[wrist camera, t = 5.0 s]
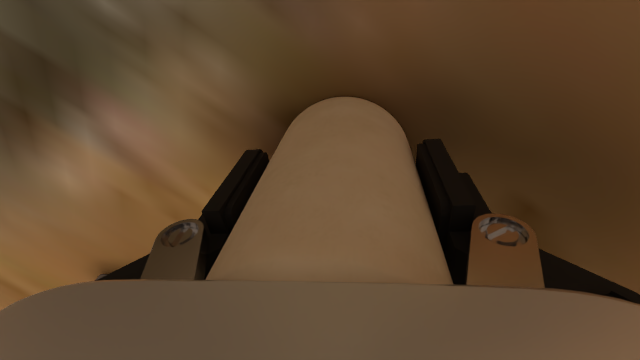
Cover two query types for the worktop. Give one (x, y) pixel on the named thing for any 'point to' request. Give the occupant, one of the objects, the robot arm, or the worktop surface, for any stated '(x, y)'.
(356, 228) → the candle
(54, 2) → the worktop surface
